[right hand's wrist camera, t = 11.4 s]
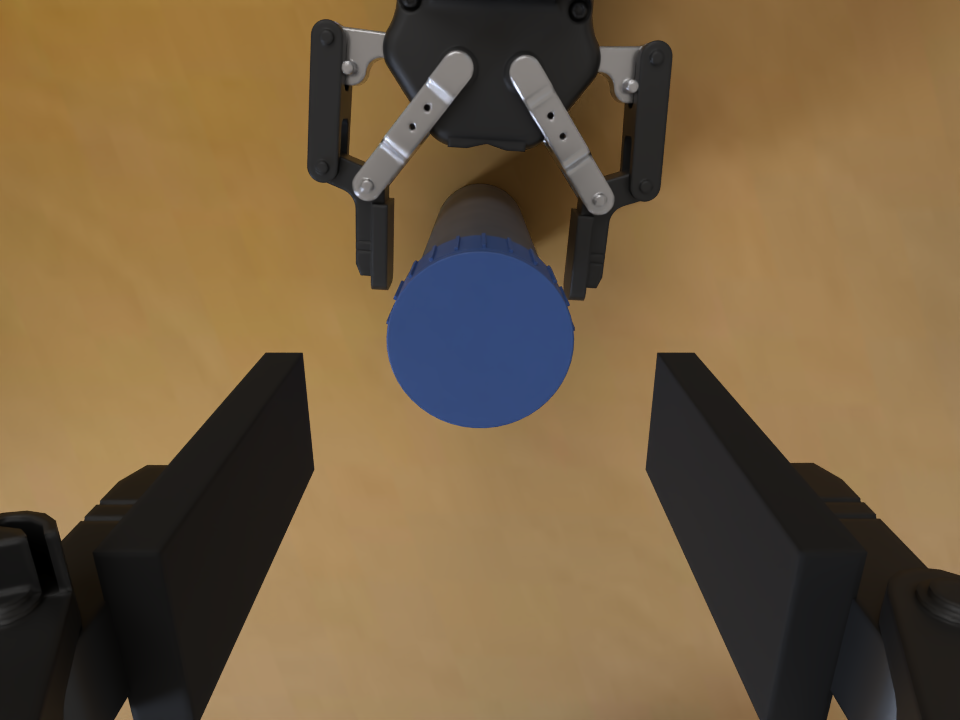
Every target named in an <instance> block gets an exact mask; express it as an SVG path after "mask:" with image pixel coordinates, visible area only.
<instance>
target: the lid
mask: <svg viewBox="0 0 960 720" xmlns="http://www.w3.org/2000/svg"><path fill="white" fill-rule="evenodd" d="M394 300H396V302H395V304H394V305H393V308H392V310H391V312H390V315H389V317H388V319H387V323H386V324H388V328H387V351H388V357H389V361H390V364H391V367H392V370H393V373H394V375H395V377H396V379H397V381H398V383H399V384H400V386H401V387H402V389H403V390H404V392H405V393H406V394H407V395H408V396H409V397H410V398H411V400H412V401H414V402H415V403H416V404H417V405H418V406H419V407H420V408H422V409H423V410H425V411H426V412H427V413H429V414H431V415H432V416H434V417H436V418H438V419H440V420H443V421H445V422H448V423H451V424H454V425H458V426H463V427H470V428H490V427H498V426H502V425H506V424H510V423H513V422H515V421H518V420H520V419H522V418H524V417H526V416H528V415H530V414H532V413H533V412H535V411H536V410H538V409H539V408H540V407H541V406H543V405H544V404H545V403H546V402H547V401H548V400H549V399H550V398H551V397H552V396H553V395H554V393H555V392H556V391H557V389H558V388H559V387H560V385H561V384H562V382H563V380H564V378H565V376H566V374H567V372H568V369H569V366H570V363H571V360H572V355H573V348H574V332H573V331H575V327H574V325H573V323H572V320H571V315H570V313H569V310H568V307H567V306H570V304H569V302H568V300H567V297H566V295H565V293H564V291H563V288H562V286H561V287H559V286H558V284H557V280H556V278H555V276H554V273H553V271H552V269H551V267H550V266H546V265H545V264H544V263H543V262H542V261H541V260H540V259H539V258H538V257H537V256H536V255H535V254H534V251H533V250H532V249H531V248H530V250H528V249H526V248H525V247H523V246H521V245H520V244H517V243H515V242H513V241H511V238H509V237H507V239H504V238H500V237H495V236H488V235H486V233H482V235H473V236H465V237H461V238H460V235H459V236H456V239H453V240H450V241H448V242H446V243H443V244H441V245H439V246H438V247H437V246H436V245H434V246H433V247H432V250H431V251H430V252H428V253H427V254H426V255H425V256H423V257H422V258H421V259H420V260H419V261H418V262H417V261H415V262H414V263H413V265H412V268H411V270H410V272H409V274H408V276H407V278H406V279H405V281H401V283H400V285H399V287H398V290H397V292H396V294H395V296H394Z"/></svg>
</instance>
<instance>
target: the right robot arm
mask: <svg viewBox="0 0 960 720" xmlns="http://www.w3.org/2000/svg"><path fill="white" fill-rule="evenodd" d="M313 471H314V461H313V451H312V441H311V431H310V421H309V411H308V401H307V391H306V381H305V371H304V361H303V353H265V354H264V355H263V356H262V358H261V359H260V360H259V361H258V362H257V363H256V364H255V366H254V367H253V368H252V369H251V370H250V371H249V373H248V374H247V375H246V376H245V377H244V378H243V379H242V381H241V382H240V383H239V384H238V385H237V386H236V387H235V389H234V390H233V391H232V392H231V393H230V394H229V396H228V397H227V398H226V399H225V400H224V401H223V402H222V404H221V405H220V406H219V407H218V408H217V409H216V411H215V412H214V413H213V414H212V415H211V416H210V417H209V419H208V420H207V421H206V422H205V423H204V424H203V425H202V427H201V428H200V429H199V430H198V431H197V432H196V434H195V435H194V436H193V437H192V438H191V439H190V440H189V442H188V443H187V444H186V445H185V446H184V447H183V449H182V450H181V451H180V452H179V453H178V454H177V455H176V457H175V458H174V459H173V460H172V461H171V462H170V463H169V465H146V466H145V467H143V468H141V469H140V470H138V471H136V472H134V473H133V474H131V475H129V476H128V477H126V478H124V479H122V480H121V481H119V482H118V483H117V484H116V485H115V486H114V487H113V488H112V489H111V490H110V491H109V492H108V493H107V494H106V495H105V496H104V497H103V498H102V499H101V500H100V505H96V506H95V507H94V508H93V509H92V510H91V511H90V512H89V513H88V514H87V515H86V516H85V520H84V521H80V522H79V523H78V524H77V525H76V526H75V528H74V529H73V530H72V531H71V532H70V533H69V534H68V535H67V536H66V537H65V538H64V539H63V540H62V541H61V539H60V535H59V531H58V527H57V524H56V520H54V519H53V518H51V517H50V516H48V515H47V514H45V513H39V512H32V511H18V512H7V513H0V720H114V719H115V717H116V716H117V714H118V712H119V711H120V709H121V707H122V706H123V704H124V702H125V701H126V699H127V697H128V700H129V704H130V708H131V712H132V716H133V720H200V719H201V717H202V715H203V713H204V711H205V708H206V706H207V704H208V702H209V700H210V697H211V695H212V693H213V691H214V689H215V686H216V684H217V682H218V680H219V678H220V675H221V673H222V671H223V669H224V667H225V664H226V662H227V660H228V658H229V656H230V653H231V651H232V649H233V647H234V645H235V643H236V640H237V638H238V636H239V634H240V632H241V629H242V627H243V625H244V623H245V621H246V618H247V616H248V614H249V612H250V610H251V607H252V605H253V603H254V601H255V599H256V596H257V594H258V592H259V590H260V588H261V585H262V583H263V581H264V579H265V577H266V574H267V572H268V570H269V568H270V566H271V564H272V561H273V559H274V557H275V555H276V553H277V550H278V548H279V546H280V544H281V542H282V539H283V537H284V535H285V533H286V531H287V528H288V526H289V524H290V522H291V520H292V517H293V515H294V513H295V511H296V509H297V506H298V504H299V502H300V500H301V498H302V495H303V493H304V491H305V489H306V487H307V485H308V482H309V480H310V478H311V476H312V474H313ZM646 471H647V474H648V476H649V478H650V480H651V482H652V485H653V487H654V489H655V491H656V493H657V495H658V498H659V500H660V502H661V504H662V506H663V509H664V511H665V513H666V515H667V517H668V520H669V522H670V524H671V526H672V528H673V531H674V533H675V535H676V537H677V539H678V542H679V544H680V546H681V548H682V550H683V553H684V555H685V557H686V559H687V561H688V564H689V566H690V568H691V570H692V572H693V574H694V577H695V579H696V581H697V583H698V585H699V588H700V590H701V592H702V594H703V596H704V599H705V601H706V603H707V605H708V607H709V610H710V612H711V614H712V616H713V618H714V621H715V623H716V625H717V627H718V629H719V632H720V634H721V636H722V638H723V640H724V643H725V645H726V647H727V649H728V651H729V654H730V656H731V658H732V660H733V662H734V664H735V667H736V669H737V671H738V673H739V675H740V678H741V680H742V682H743V684H744V686H745V689H746V691H747V693H748V695H749V697H750V700H751V702H752V704H753V706H754V708H755V711H756V713H757V715H758V717H759V719H760V720H827V716H828V712H829V708H830V704H831V700H832V695H834V697H835V699H836V700H837V702H838V704H839V705H840V707H841V709H842V710H843V712H844V714H845V715H846V717H847V719H848V720H960V575H957V574H953V573H950V572H946V571H943V570H939V569H929V568H927V567H926V566H925V565H924V564H923V563H922V562H921V560H920V559H919V558H918V557H917V556H916V555H915V554H914V553H913V552H912V551H911V550H910V549H909V548H908V547H907V546H906V545H905V544H904V543H903V542H902V541H901V540H900V539H899V538H898V537H897V536H896V535H895V534H894V533H893V532H892V531H891V530H890V528H889V527H888V526H887V525H886V524H885V523H884V522H883V521H882V520H881V519H876V514H875V513H874V512H873V511H872V510H871V509H870V508H869V507H868V506H867V505H866V504H865V503H864V502H861V501H860V498H859V497H858V495H857V494H856V493H855V492H854V491H853V490H852V489H851V488H850V487H849V486H848V485H847V484H846V483H845V482H844V481H843V480H842V479H840V478H839V477H837V476H835V475H833V474H832V473H830V472H828V471H826V470H825V469H823V468H821V467H820V466H818V465H816V464H814V463H790V462H789V461H788V460H787V459H786V458H785V457H784V455H783V454H782V453H781V452H780V451H779V450H778V449H777V447H776V446H775V445H774V444H773V443H772V442H771V440H770V439H769V438H768V437H767V436H766V435H765V434H764V432H763V431H762V430H761V429H760V428H759V427H758V425H757V424H756V423H755V422H754V421H753V420H752V419H751V417H750V416H749V415H748V414H747V413H746V412H745V411H744V409H743V408H742V407H741V406H740V405H739V404H738V402H737V401H736V400H735V399H734V398H733V397H732V396H731V394H730V393H729V392H728V391H727V390H726V389H725V387H724V386H723V385H722V384H721V383H720V382H719V381H718V379H717V378H716V377H715V376H714V375H713V374H712V373H711V371H710V370H709V369H708V368H707V367H706V366H705V364H704V363H703V362H702V361H701V360H700V359H699V358H698V356H697V355H696V354H695V353H657V361H656V371H655V381H654V391H653V401H652V411H651V421H650V431H649V441H648V451H647V461H646Z"/></svg>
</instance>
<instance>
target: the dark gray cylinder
mask: <svg viewBox="0 0 960 720" xmlns="http://www.w3.org/2000/svg"><path fill="white" fill-rule="evenodd" d="M482 233H486V235H488V236H495V237H500V238H504V239H507V237H509V238H511V241H513V242H515V243H517V244H520V245H521V246H523V247H525V248H526V249H528V250H530V248H531V249H532V250H533V251H534V254H535V255H536V256H537V257H538V255H537V253H536V250H535V248H534V245H533V242H532V240H531V237H530V235H529V232H528V229H527V227H526V224H525V222H524V219H523V216H522V214H521V211H520V209H519V207H518V205H517V203H516V202H515V201H514V199H513V198H512V197H511V196H510V195H509V194H507V193H506V192H505V191H503V190H502V189H500V188H497V187H495V186H492V185H487V184H473V185H469V186H465V187H463V188H461V189H459V190H457V191H456V192H454V193H453V194H452V195H451V196H450V197H449V198H448V199H447V200H446V201H445V203H444V204H443V206H442V208H441V210H440V212H439V215H438V217H437V220H436V222H435V225H434V228H433V230H432V233H431V236H430V238H429V241H428V243H427V246H426V249H425V251H424V254H423V256H425V255H426V254H427V253H428V252H430V251H431V250H432V247H433V246H434V245H436V246H437V247H438V246H439V245H441V244H443V243H446V242H448V241H450V240H453V239H456V236H459V235H460V238H461V237H465V236H473V235H482ZM423 256H422V257H423Z"/></svg>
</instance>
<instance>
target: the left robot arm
mask: <svg viewBox="0 0 960 720" xmlns="http://www.w3.org/2000/svg"><path fill="white" fill-rule="evenodd" d="M593 2H594V0H397V3H396V10H395V13H394V17H393V19H392V22H391V24H390V26H389V28H388V29H387V31H386V32H379V31H372V30H364V29H357V28H349V27H344V26H342V25H341V24H339V23H337V22H335V21H332V20H328V19H323V20H320V21H318V22H317V23H316V24H315V25H314V26H313V28H312V32H311V55H310V89H309V124H308V159H307V168H308V172H309V174H310V176H311V177H312V178H313V179H314V180H316V181H318V182H321V183H326V182H327V183H329V184H331V185H334V186H336V187H338V188H341V189H343V190H345V191H346V192H348V193H349V194H350V195H351V196H352V198H353V200H354V202H355V206H356V265H357V267H358V270H359V272H360V275H366V276H371V288H372V289H379V290H388V289H389V287H390V285H391V283H392V279H393V247H394V198H389V185H390V184H391V183H392V181H393V180H394V179H395V178H396V176H397V175H398V174H399V173H400V171H401V170H402V169H403V168H404V166H405V165H406V164H407V162H408V161H409V160H410V159H411V158H412V156H413V155H414V154H415V153H416V152H417V150H418V149H419V148H420V147H421V145H422V144H423V143H424V141H425V140H426V139H427V138H428V136H429V135H430V134H431V135H432V136H433V137H434V138H435V139H437V140H438V141H440V142H442V143H444V144H446V145H448V147H459V148H469V147H474V146H478V145H483V144H489V145H492V146H495V147H498V148H500V149H503V150H507V151H523V152H525V150H526V149H530V148H533V147H535V146H537V145H538V144H540V143H541V142H543V143H544V145H545V147H546V148H547V150H548V152H549V153H550V155H551V157H552V158H553V160H554V161H555V163H556V164H557V166H558V167H559V169H560V170H561V172H562V174H563V175H564V177H565V179H566V180H567V182H568V184H569V185H570V187H571V188H572V190H573V192H574V193H575V195H576V197H577V198H578V204H577V209H574V208H572V209H571V218H570V228H569V237H568V246H567V256H566V265H565V274H564V293H565V295H566V297H567V300H581V301H584V299H585V294H586V288H597V286H598V284H599V282H600V280H601V278H602V274H603V267H604V259H605V251H606V243H607V235H608V227H609V221H610V218H611V216H612V214H613V213H614V212H615V211H616V210H617V209H618V208H620V207H622V206H625V205H628V204H632V203H635V202H639V201H643V202H646V201H650V200H652V199H654V198H655V197H656V196H657V194H658V193H659V191H660V186H661V176H662V165H663V154H664V143H665V132H666V121H667V111H668V100H669V89H670V78H671V67H672V51H671V48H670V47H669V45H668V44H667V43H665V42H663V41H660V40H656V41H653V42H650V43H647V44H644V45H642V46H599V44H598V42H597V40H596V37H595V34H594V29H593V22H592V12H593ZM381 59H384V60H385V62H386V64H387V66H388V68H389V69H390V71H391V73H392V74H393V76H394V77H395V79H396V81H397V82H398V84H399V85H400V87H401V89H402V90H403V92H404V93H405V95H406V97H407V98H408V100H409V101H410V104H409V105H408V106H407V108H406V109H405V110H404V111H403V113H402V114H401V115H400V117H399V118H398V119H397V121H396V122H395V123H394V124H393V126H392V127H391V128H390V130H389V131H388V132H387V134H386V135H385V136H384V138H383V139H382V141H381V143H380V144H379V146H378V147H377V148H376V150H375V151H374V152H373V153H372V155H371V156H370V157H369V159H368V160H367V161H366V162H364V161H362V160H359V159H357V158H355V157H352V156H350V155H349V141H350V121H351V101H352V86H359V85H362V84H363V83H365V82H366V80H367V79H368V77H369V73H370V69H371V67H372V65H373V64H374V63H375V62H376V61H378V60H381ZM597 73H600V74H602V75H603V76H605V77H606V78H607V80H608V82H609V85H610V93H611V95H612V97H613V98H614V100H616V101H617V102H619V103H625V107H624V121H623V135H622V150H621V164H620V172H617V173H613V174H610V175H607V176H603V175H602V173H601V171H600V170H599V168H598V166H597V164H596V163H595V161H594V159H593V158H592V155H591V153H590V150H589V149H588V147H587V145H586V143H585V141H584V140H583V138H582V136H581V135H580V133H579V131H578V130H577V128H576V126H575V124H574V123H573V121H572V119H571V118H570V116H569V114H568V111H569V109H570V108H571V107H572V106H573V104H574V103H575V102H576V101H577V100H578V98H579V97H580V96H581V95H582V93H583V92H584V91H585V90H586V88H587V87H588V86H589V85H590V84H591V82H592V81H593V80H594V78H595V77H596V75H597Z"/></svg>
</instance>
